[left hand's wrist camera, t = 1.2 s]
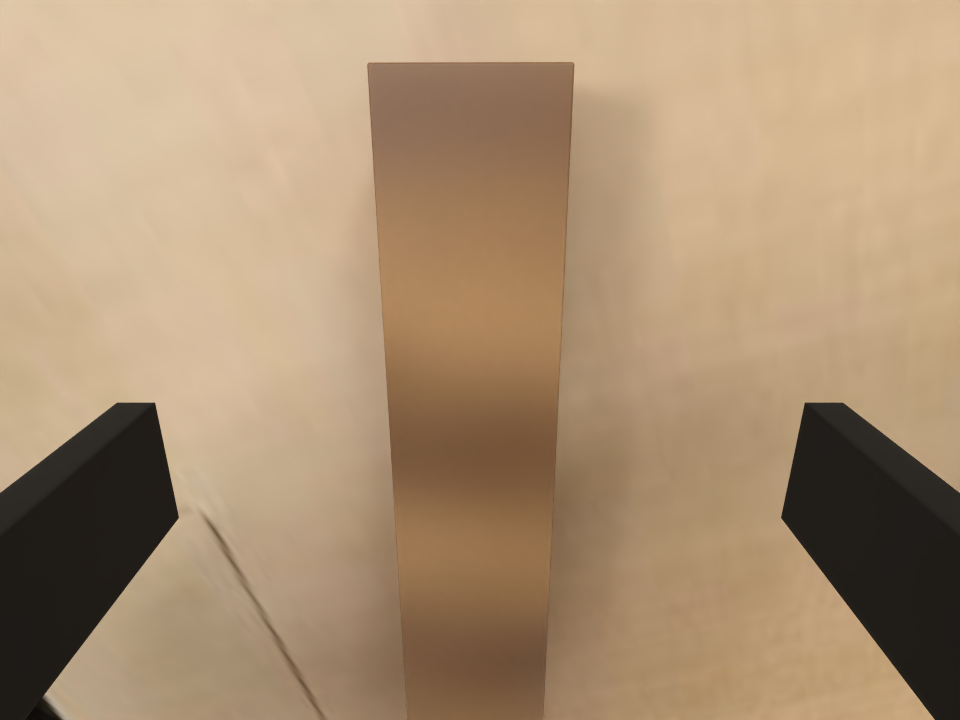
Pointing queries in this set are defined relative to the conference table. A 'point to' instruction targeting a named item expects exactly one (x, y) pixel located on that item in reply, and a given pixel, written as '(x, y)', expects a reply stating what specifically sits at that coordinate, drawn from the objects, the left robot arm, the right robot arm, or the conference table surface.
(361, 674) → the conference table surface
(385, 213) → the post
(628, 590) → the conference table surface
